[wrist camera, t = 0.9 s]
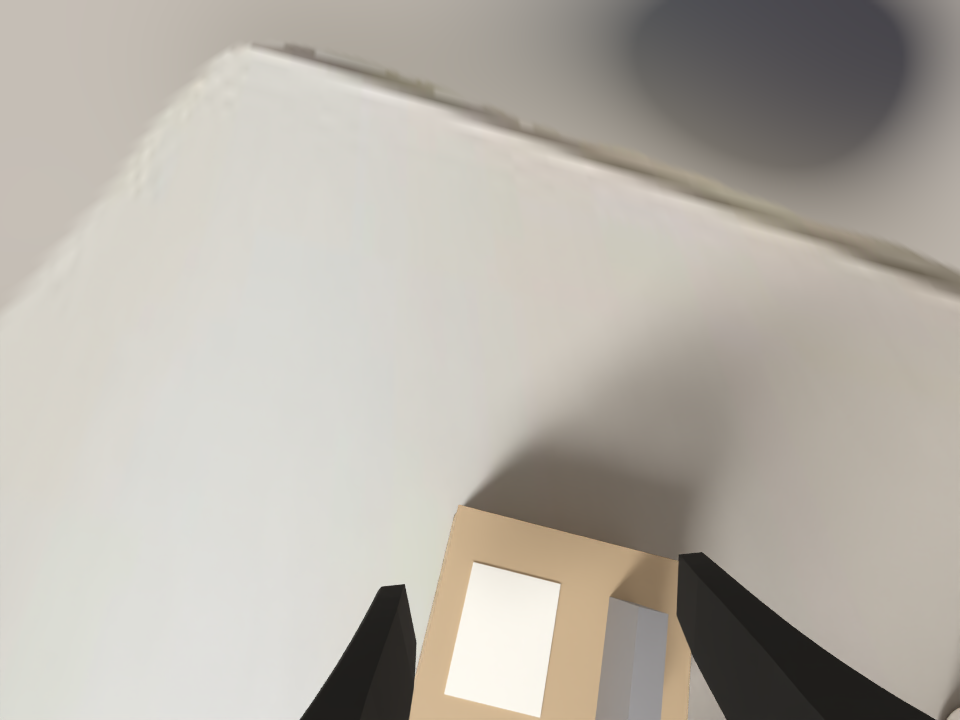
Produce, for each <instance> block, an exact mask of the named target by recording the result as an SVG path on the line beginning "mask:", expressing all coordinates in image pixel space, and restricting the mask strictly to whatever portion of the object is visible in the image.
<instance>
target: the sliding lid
mask: <svg viewBox="0 0 960 720" xmlns="http://www.w3.org/2000/svg"><path fill="white" fill-rule="evenodd" d="M677 585H678V561H676V560H673V559H669V558H665V557H661V556H657V555H653V554H649V553H645V552H641V551H638V550H634V549H630V548H626V547H622V546H618V545H614V544H610V543H606V542H602V541H599V540H595V539H591V538H587V537H583V536H579V535H575V534H571V533H567V532H563V531H560V530H556V529H552V528H548V527H544V526H540V525H536V524H532V523H528V522H524V521H521V520H517V519H513V518H509V517H505V516H501V515H497V514H493V513H489V512H486V511H482V510H478V509H474V508H470V507H466V506H462V505H458V509H457V514H456V518H455V522H454V526H453V530H452V534H451V538H450V542H449V547H448V551H447V555H446V559H445V563H444V567H443V571H442V575H441V580H440V584H439V588H438V592H437V596H436V600H435V604H434V608H433V613H432V617H431V621H430V625H429V629H428V633H427V637H426V641H425V646H424V650H423V654H422V658H421V662H420V666H419V670H418V674H417V679H416V683H415V687H414V691H413V698H412V704H411V711H410V717H409V720H687V717H688V699H689V680H690V662H691V650H690V648H689V646H688V643H687V641H686V638H685V636H684V633H683V631H682V628H681V626H680V623H679V621H678V618H677V616H676V611H677Z"/></svg>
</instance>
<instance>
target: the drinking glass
mask: <svg viewBox="0 0 960 720" xmlns="http://www.w3.org/2000/svg"><path fill="white" fill-rule="evenodd" d="M947 720H960V707H959V708H958V709H956V710H955V711H953V712H952V713H951V714H950V715H949V717H948V718H947Z"/></svg>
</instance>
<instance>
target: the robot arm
mask: <svg viewBox="0 0 960 720" xmlns="http://www.w3.org/2000/svg"><path fill="white" fill-rule="evenodd" d="M676 616H677V618H678V621H679V623H680V626H681V628H682V631H683V633H684V636H685V638H686V641H687V643H688V646H689V648H690V650H691V653H692V655H693V657H694V659H695V661H696V663H697V665H698V667H699V669H700V671H701V673H702V675H703V677H704V678H705V680H706V682H707V684H708V686H709V688H710V690H711V692H712V693H713V695H714V697H715V699H716V701H717V703H718V705H719V707H720V708H721V710H722V712H723V714H724V716H725V718H726V720H935V719H934V718H932V717H930V716H929V715H927V714H925V713H923V712H922V711H920V710H918V709H916V708H915V707H913V706H911V705H910V704H908V703H906V702H904V701H903V700H901V699H899V698H898V697H896V696H895V695H893V694H891V693H890V692H888V691H886V690H885V689H883V688H882V687H880V686H878V685H877V684H875V683H874V682H872V681H871V680H869V679H868V678H866V677H865V676H863V675H861V674H860V673H858V672H857V671H855V670H854V669H852V668H851V667H849V666H848V665H846V664H845V663H843V662H842V661H840V660H839V659H837V658H836V657H834V656H833V655H831V654H830V653H829V652H827V651H826V650H824V649H823V648H822V647H820V646H819V645H817V644H816V643H815V642H813V641H812V640H811V639H809V638H808V637H806V636H805V635H804V634H802V633H801V632H800V631H798V630H797V629H796V628H794V627H793V626H792V625H790V624H789V623H788V622H786V621H785V620H784V619H783V618H781V617H780V616H779V615H778V614H776V613H775V612H774V611H773V610H771V609H770V608H769V607H767V606H766V605H765V604H764V603H762V602H761V601H760V600H759V599H758V598H756V597H755V596H754V595H753V594H751V593H750V592H749V591H748V590H747V589H745V588H744V587H743V586H742V585H741V584H739V583H738V582H737V581H736V580H735V579H733V578H732V577H731V576H730V575H729V574H727V573H726V572H725V571H724V570H723V569H722V568H720V567H719V566H718V565H717V564H716V563H714V562H713V561H712V560H711V559H710V558H708V557H707V556H706V555H705V554H704V553H702V552H700V553H690V554H681V555H679V560H678V585H677V611H676ZM415 662H416V638H415V633H414V628H413V623H412V618H411V613H410V608H409V603H408V598H407V593H406V588H405V584H402V585H393V586H384V587H381V588H380V589H379V590H378V592H377V594H376V596H375V598H374V600H373V602H372V604H371V606H370V608H369V610H368V611H367V613H366V615H365V617H364V619H363V621H362V622H361V624H360V626H359V628H358V630H357V631H356V633H355V635H354V637H353V638H352V640H351V642H350V643H349V645H348V647H347V648H346V650H345V652H344V653H343V655H342V657H341V658H340V660H339V662H338V663H337V665H336V667H335V668H334V670H333V671H332V673H331V674H330V676H329V677H328V679H327V680H326V682H325V684H324V685H323V687H322V688H321V690H320V691H319V693H318V694H317V696H316V697H315V699H314V700H313V702H312V703H311V705H310V706H309V707H308V709H307V710H306V712H305V713H304V714H303V716H302V717H301V719H300V720H409V717H410V711H411V704H412V698H413V691H414V680H415Z"/></svg>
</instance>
